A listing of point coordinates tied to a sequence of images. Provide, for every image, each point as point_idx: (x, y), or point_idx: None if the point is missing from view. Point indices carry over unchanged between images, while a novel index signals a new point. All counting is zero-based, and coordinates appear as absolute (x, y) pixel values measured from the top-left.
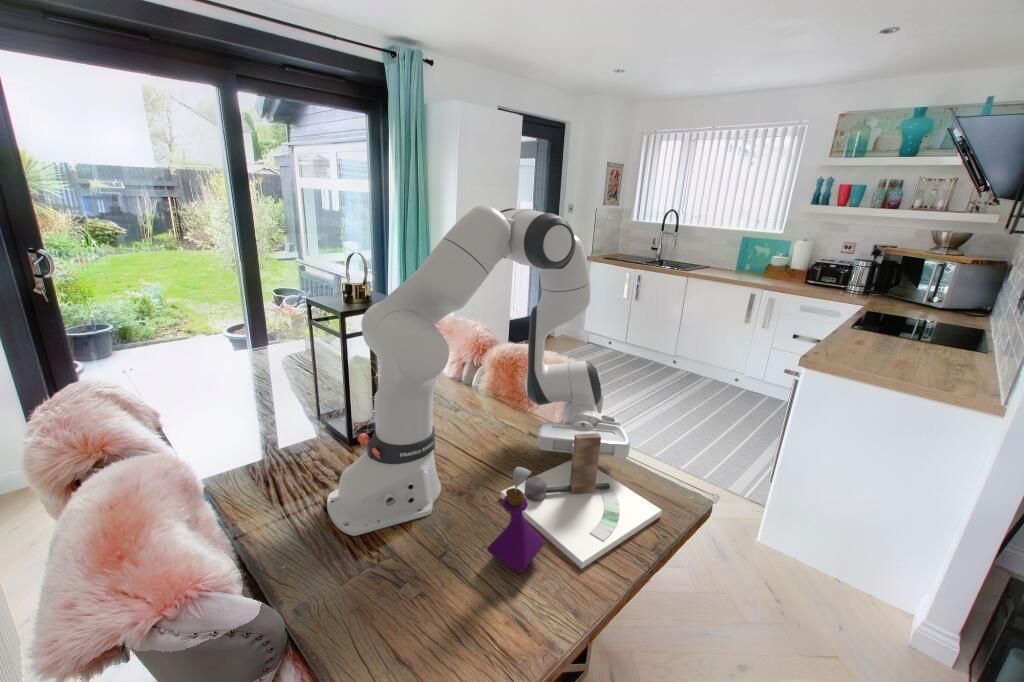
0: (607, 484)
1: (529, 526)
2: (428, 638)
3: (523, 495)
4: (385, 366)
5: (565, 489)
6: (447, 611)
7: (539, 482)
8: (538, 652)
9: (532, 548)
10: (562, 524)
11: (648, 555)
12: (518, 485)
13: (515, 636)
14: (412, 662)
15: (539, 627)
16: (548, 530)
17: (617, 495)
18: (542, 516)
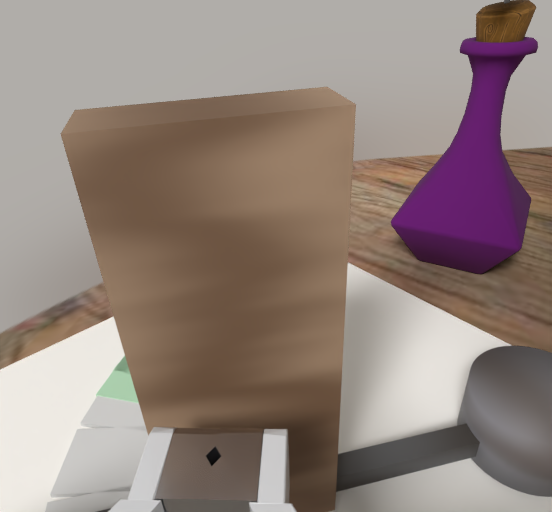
0: None
1: (444, 162)
2: (523, 166)
3: (479, 13)
4: None
5: (358, 452)
6: (525, 185)
7: (522, 398)
8: (361, 170)
9: (418, 185)
10: (350, 312)
11: (99, 294)
12: None
13: (400, 176)
14: (520, 153)
15: (366, 185)
16: (393, 289)
17: (42, 505)
18: (431, 332)
